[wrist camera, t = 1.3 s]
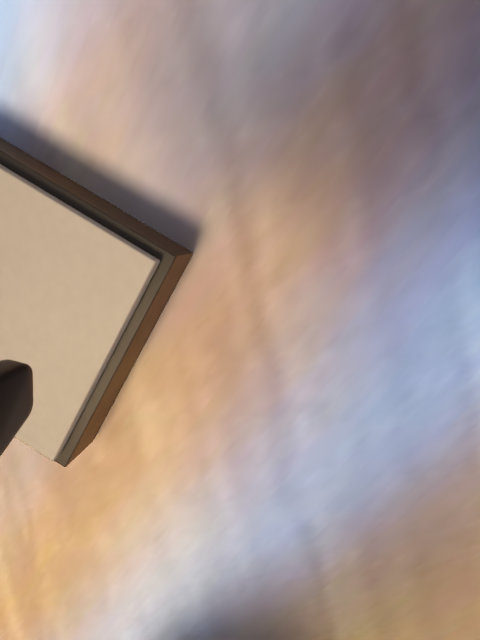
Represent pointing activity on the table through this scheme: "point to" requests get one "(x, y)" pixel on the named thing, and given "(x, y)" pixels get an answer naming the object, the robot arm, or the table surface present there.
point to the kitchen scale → (74, 298)
